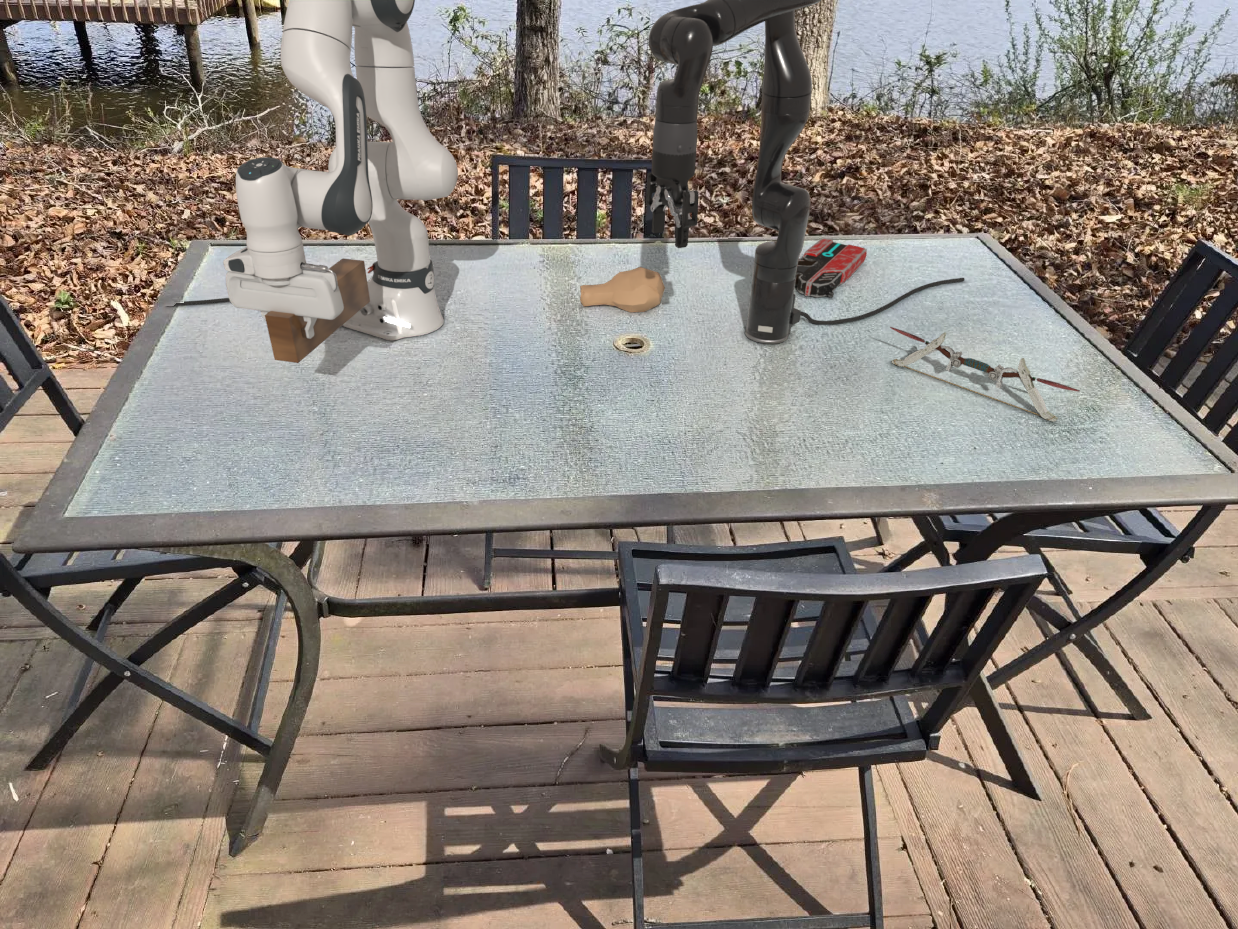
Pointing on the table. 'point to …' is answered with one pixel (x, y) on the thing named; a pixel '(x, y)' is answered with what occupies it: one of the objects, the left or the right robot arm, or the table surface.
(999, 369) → the bow
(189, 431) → the table surface
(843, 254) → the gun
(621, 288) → the squash
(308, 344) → the bar
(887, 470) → the table surface
